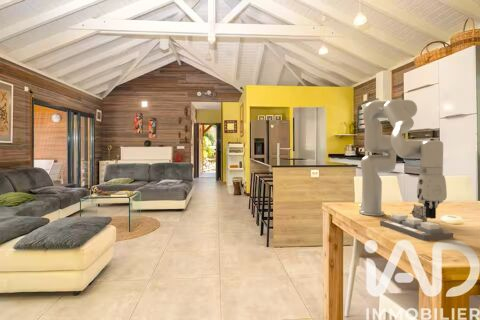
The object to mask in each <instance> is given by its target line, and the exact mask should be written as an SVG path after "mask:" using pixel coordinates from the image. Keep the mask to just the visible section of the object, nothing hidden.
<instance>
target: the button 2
mask: <svg viewBox="0 0 480 320" xmlns="http://www.w3.org/2000/svg"><path fill="white" fill-rule="evenodd" d="M421 227H423V228H426V229H430V230H432V229H439V228H440V224H439V223H435V222H432V221H427V222H426V221H423V222H421Z"/></svg>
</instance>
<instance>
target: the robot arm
mask: <svg viewBox="0 0 480 320" xmlns="http://www.w3.org/2000/svg"><path fill="white" fill-rule="evenodd" d="M417 112H418V106H417V104H416V102H414V101H413V100H412V99H411V100H410V99H391V100H388V101H385V100H382V101H381V100H376V101H370V102H368V103H366V104H365V105H364V107H363V110H362V117H363V123H364V150H365V152H368V153H373V154H369V155H368V154H367V155H365V156H363V157H362V158H361V160H360V169H361V175H362V176H361V177H362V178H361V179H362V181H361V182H362V184H361V186H362V188H361V189H362V190H361V191H362V192H361V194H362V197H361V198H362V199H361V203H360V204H359V207H360V208H361V209H359V210H358V213H359V214H361V215H365V216H372V217H373V216H374V217H377V216H378V217H379V216H384V215H385V212H384V211H383V210H382V198H383V197H382V187H383V186H382V184H383V182H382V179H381V176H380V175H379V174H380V173H381V174H384V173H385V174H389V173H393V171H394V170H395V169H396V165H397V156H398V157H399V158H402V159H417V160H418V159H420V160H419V161H420V163H419V164H420V166H419V167H420V169H419V170H418V172H419V175H418V179H417V186H416V198H417V199H418V201H417V203H418V204H422V206H424V207H426V217H427V219H432V220H433V219H436V218H437V216H436V215H437V211H436V210H437V208H438V207H439V206H438V205H439V204H442V203H444V201H446V199H447V182H446V178H445V175H444V142H443V141H442V140H439V139H437V140H436V139H435V140H406V138H405V137H404V136H403V134H405V133H406V132H409V131H410V130H411V129H412V128H413V127H414V124H415V122H414V119H413V117H415V116H416V114H417ZM380 119H387V120H388V122H389V123H390V126H392V131H391V134H383V125H382V123H381V122H380V121H381V120H380ZM374 153H378V154H374ZM380 153H382V154H380Z"/></svg>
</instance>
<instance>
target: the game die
mask: <svg viewBox="0 0 480 320" xmlns="http://www.w3.org/2000/svg"><path fill="white" fill-rule="evenodd" d="M413 206H414V207H412V210H411V212H409V214H410V215H411V216H412V218H413V217H415V218H418V219H422V220H423V222H428V218H427V217H426V207H424V205H416V204H414V203H413Z"/></svg>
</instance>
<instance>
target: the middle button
mask: <svg viewBox="0 0 480 320" xmlns="http://www.w3.org/2000/svg"><path fill="white" fill-rule="evenodd" d="M406 222H407V223H410V224H413V225H415V224H421V222H424V221H423V220H422V219H418V218H415V217H413V216H412V217H408V218H406Z"/></svg>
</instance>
